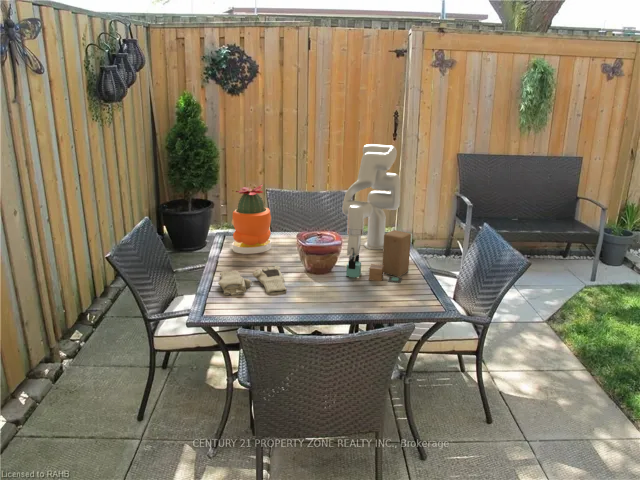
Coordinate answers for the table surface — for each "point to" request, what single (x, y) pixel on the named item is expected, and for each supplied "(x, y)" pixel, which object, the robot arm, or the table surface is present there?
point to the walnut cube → (376, 272)
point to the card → (394, 279)
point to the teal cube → (354, 270)
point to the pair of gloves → (238, 284)
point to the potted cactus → (251, 223)
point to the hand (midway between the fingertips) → (353, 265)
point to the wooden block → (396, 252)
